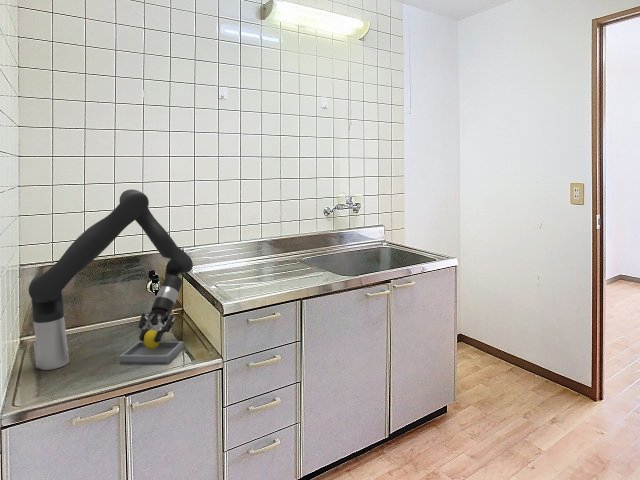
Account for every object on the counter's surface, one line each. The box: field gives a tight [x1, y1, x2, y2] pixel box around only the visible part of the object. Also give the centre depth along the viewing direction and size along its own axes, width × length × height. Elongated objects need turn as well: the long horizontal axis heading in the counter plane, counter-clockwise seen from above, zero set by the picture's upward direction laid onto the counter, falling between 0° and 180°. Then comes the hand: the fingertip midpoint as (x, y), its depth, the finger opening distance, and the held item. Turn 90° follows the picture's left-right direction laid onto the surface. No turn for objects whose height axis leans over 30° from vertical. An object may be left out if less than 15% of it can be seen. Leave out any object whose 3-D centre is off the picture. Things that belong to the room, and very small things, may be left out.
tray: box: [118, 340, 185, 366], centre depth 158 cm, size 18×14×3 cm
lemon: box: [144, 329, 161, 350], centre depth 157 cm, size 6×6×8 cm
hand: (148, 341), depth 155 cm, fingers closed on lemon, 5 cm apart
